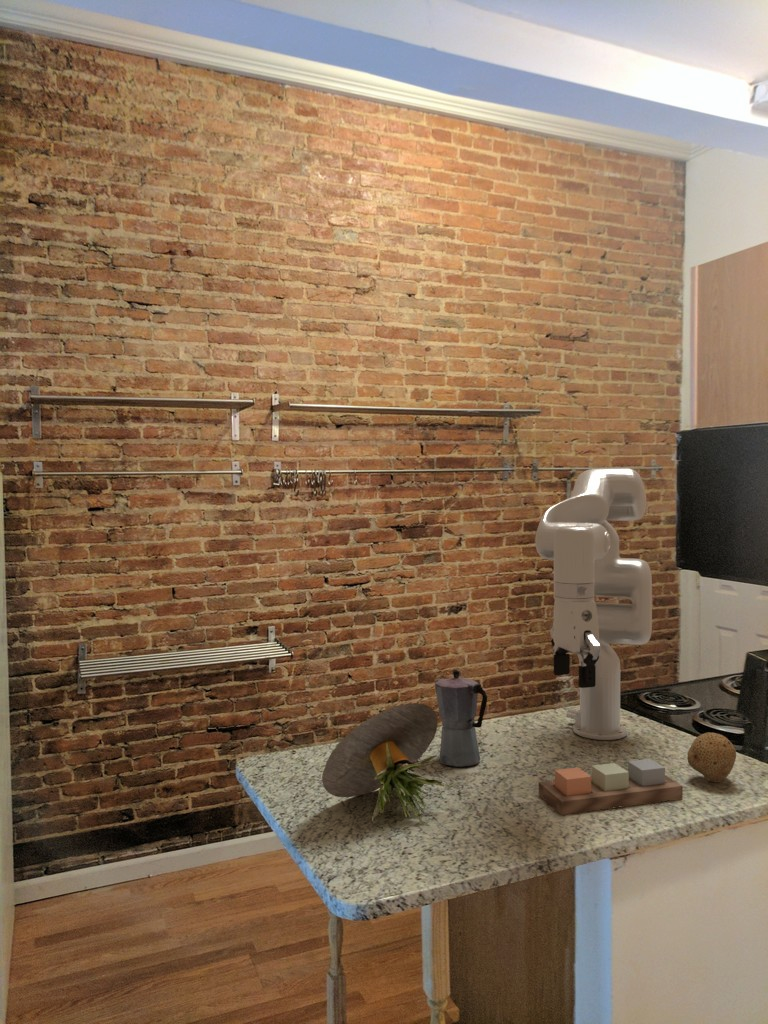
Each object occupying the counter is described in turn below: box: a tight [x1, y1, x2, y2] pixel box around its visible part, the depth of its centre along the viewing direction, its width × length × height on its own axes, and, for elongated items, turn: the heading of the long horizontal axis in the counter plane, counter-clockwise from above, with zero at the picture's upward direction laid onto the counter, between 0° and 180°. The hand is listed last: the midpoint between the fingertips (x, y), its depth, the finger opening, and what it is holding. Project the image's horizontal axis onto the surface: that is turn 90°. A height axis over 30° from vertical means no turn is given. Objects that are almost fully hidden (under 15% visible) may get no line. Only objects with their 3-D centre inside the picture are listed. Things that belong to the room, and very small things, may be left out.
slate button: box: [627, 758, 666, 786], centre depth 155 cm, size 5×5×4 cm
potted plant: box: [321, 702, 454, 825], centre depth 146 cm, size 25×18×25 cm
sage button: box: [591, 762, 629, 791], centre depth 153 cm, size 5×5×4 cm
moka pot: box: [434, 669, 488, 767], centre depth 172 cm, size 10×15×20 cm, turn 44°
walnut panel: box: [538, 775, 684, 816], centre depth 153 cm, size 26×10×2 cm, turn 105°
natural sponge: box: [686, 731, 737, 784], centre depth 160 cm, size 9×9×10 cm
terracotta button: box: [554, 767, 592, 796], centre depth 151 cm, size 5×5×4 cm
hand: (573, 680), depth 150 cm, fingers open, 9 cm apart
